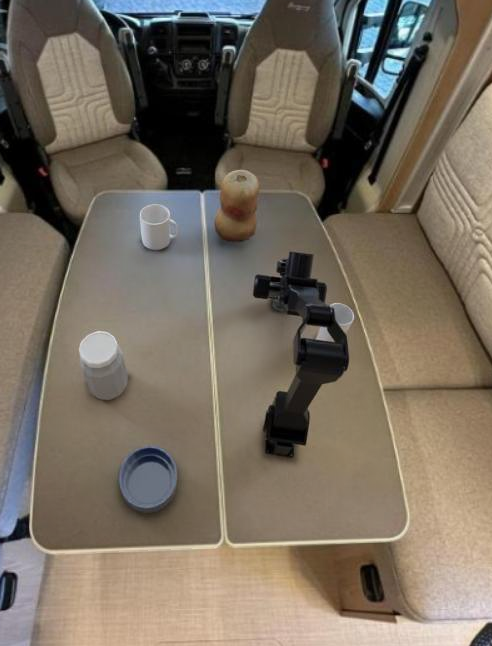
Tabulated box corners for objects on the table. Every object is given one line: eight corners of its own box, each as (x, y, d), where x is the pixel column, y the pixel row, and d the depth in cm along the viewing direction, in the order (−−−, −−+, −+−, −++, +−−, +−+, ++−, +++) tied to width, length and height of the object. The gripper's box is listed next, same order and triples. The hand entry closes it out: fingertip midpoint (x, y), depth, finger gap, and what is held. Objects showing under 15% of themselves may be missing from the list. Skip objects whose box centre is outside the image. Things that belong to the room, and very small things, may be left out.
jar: (81, 380, 105) (67, 344, 91) (114, 359, 109) (105, 320, 95) (102, 410, 100) (90, 375, 86) (135, 386, 104) (129, 349, 90)
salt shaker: (290, 314, 120) (299, 288, 110) (269, 310, 120) (277, 284, 111) (291, 298, 123) (300, 272, 114) (271, 294, 124) (278, 268, 115)
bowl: (172, 518, 86) (171, 512, 81) (115, 508, 86) (112, 502, 82) (181, 458, 93) (181, 450, 89) (129, 449, 94) (126, 441, 90)
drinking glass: (308, 349, 112) (323, 318, 101) (315, 330, 116) (330, 298, 105) (332, 360, 110) (350, 329, 99) (339, 340, 114) (357, 309, 103)
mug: (142, 231, 140) (139, 204, 131) (177, 230, 141) (177, 203, 132) (142, 251, 134) (139, 225, 125) (179, 250, 135) (179, 223, 126)
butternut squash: (208, 245, 137) (213, 184, 118) (218, 219, 145) (224, 158, 126) (249, 255, 134) (261, 194, 115) (257, 228, 143) (269, 167, 124)
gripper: (336, 265, 101) (322, 262, 116) (260, 256, 102) (255, 254, 118) (330, 310, 102) (316, 301, 117) (254, 300, 103) (250, 293, 119)
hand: (284, 286), depth 118 cm, fingers closed on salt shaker, 3 cm apart
